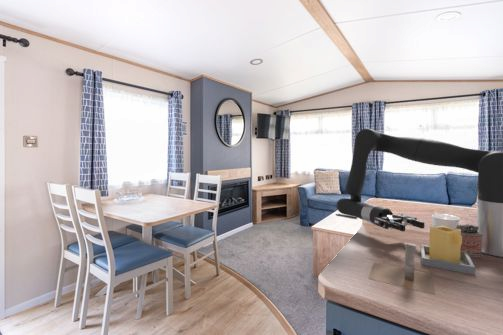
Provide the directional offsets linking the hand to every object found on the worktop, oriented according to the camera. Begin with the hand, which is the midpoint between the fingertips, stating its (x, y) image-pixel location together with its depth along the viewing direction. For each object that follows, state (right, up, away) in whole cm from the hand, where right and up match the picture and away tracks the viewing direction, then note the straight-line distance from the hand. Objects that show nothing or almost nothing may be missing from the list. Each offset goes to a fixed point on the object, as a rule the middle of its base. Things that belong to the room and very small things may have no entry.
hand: (414, 227), depth 82 cm
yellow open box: (+3, -8, -9) cm, 12 cm away
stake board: (-15, -10, -17) cm, 25 cm away
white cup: (+16, -8, +7) cm, 19 cm away
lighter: (+16, -9, -2) cm, 18 cm away
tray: (+3, -9, -9) cm, 13 cm away
